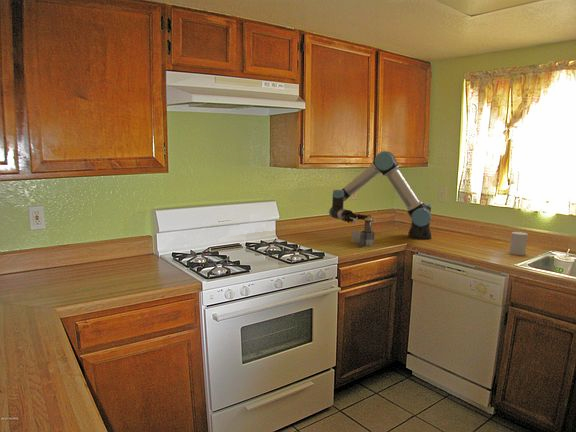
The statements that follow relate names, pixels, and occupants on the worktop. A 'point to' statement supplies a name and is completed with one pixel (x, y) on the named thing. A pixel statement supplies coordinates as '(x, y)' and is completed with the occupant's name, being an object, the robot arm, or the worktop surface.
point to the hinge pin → (367, 225)
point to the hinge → (363, 238)
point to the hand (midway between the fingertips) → (365, 220)
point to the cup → (518, 243)
